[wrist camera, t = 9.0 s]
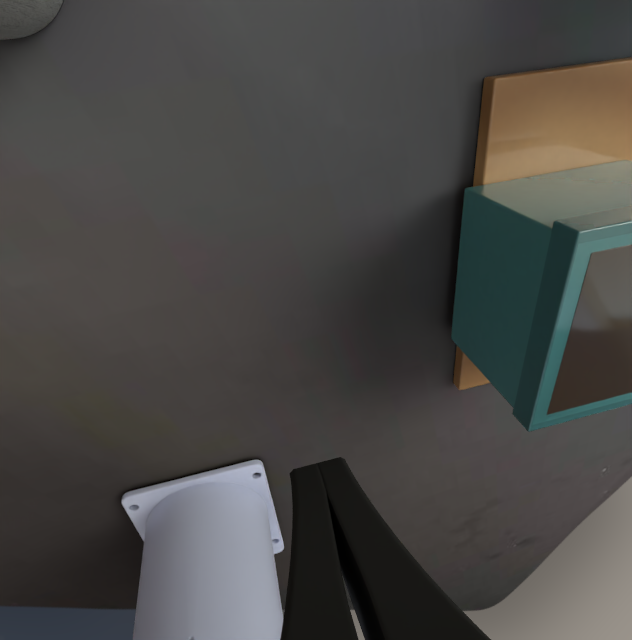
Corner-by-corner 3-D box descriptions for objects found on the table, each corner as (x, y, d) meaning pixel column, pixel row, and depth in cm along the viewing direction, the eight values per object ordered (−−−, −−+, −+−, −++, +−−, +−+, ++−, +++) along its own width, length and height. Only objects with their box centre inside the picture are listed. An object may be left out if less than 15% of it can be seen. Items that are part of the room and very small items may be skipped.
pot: (449, 343, 22) (586, 311, 24) (528, 433, 17) (700, 386, 18) (464, 180, 18) (633, 151, 19) (579, 232, 12) (806, 186, 14)
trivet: (625, 340, 27) (635, 347, 26) (452, 382, 25) (459, 391, 25) (734, 42, 18) (755, 41, 18) (483, 77, 17) (494, 77, 16)
